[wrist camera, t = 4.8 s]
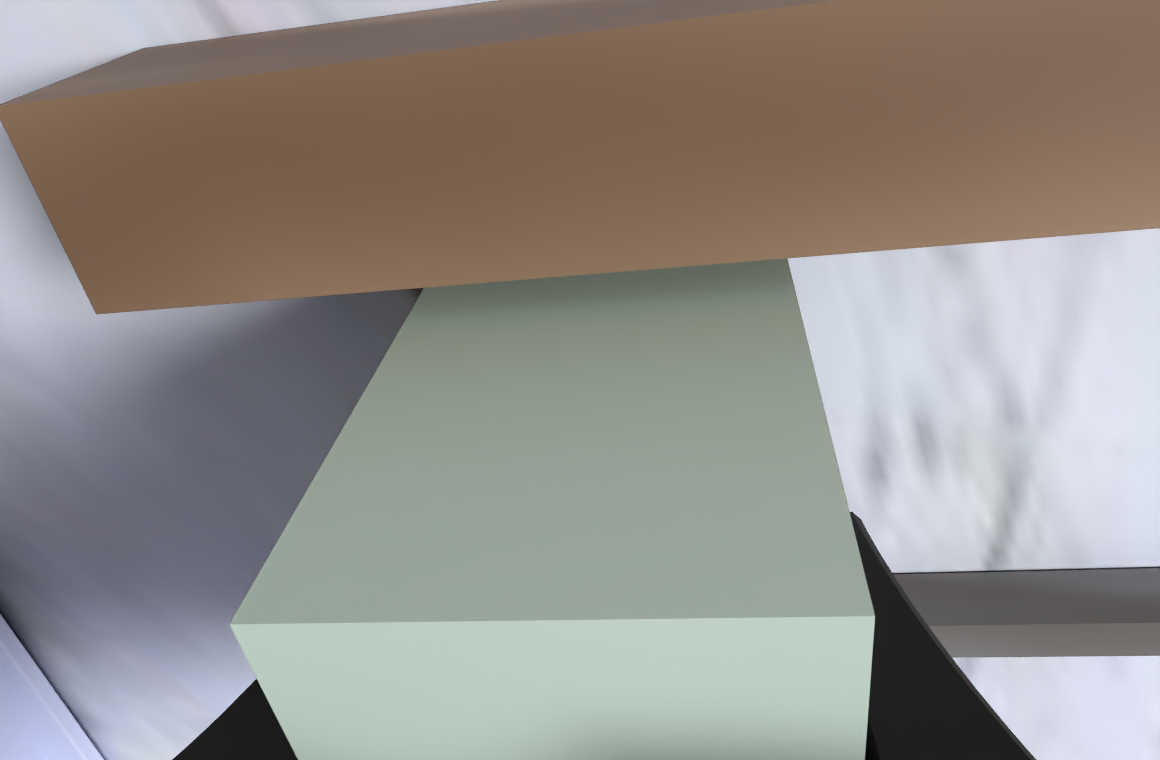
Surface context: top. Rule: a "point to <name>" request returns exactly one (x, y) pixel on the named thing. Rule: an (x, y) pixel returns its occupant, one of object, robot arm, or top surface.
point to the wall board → (620, 173)
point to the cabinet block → (576, 536)
